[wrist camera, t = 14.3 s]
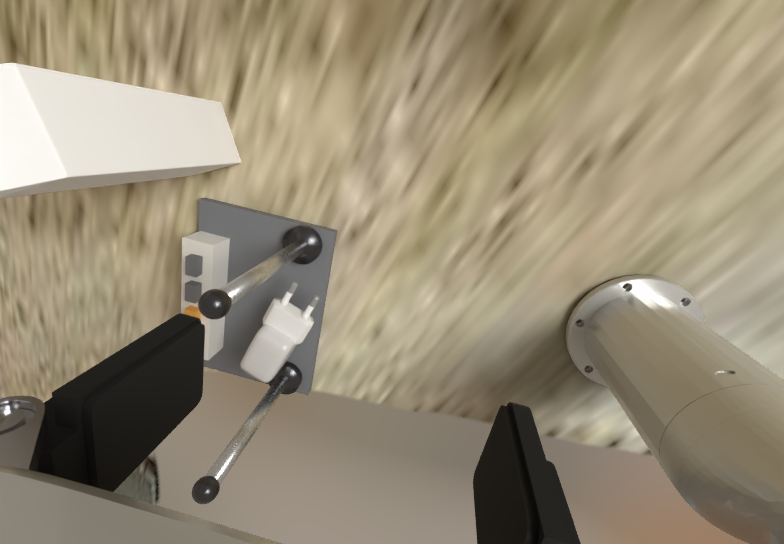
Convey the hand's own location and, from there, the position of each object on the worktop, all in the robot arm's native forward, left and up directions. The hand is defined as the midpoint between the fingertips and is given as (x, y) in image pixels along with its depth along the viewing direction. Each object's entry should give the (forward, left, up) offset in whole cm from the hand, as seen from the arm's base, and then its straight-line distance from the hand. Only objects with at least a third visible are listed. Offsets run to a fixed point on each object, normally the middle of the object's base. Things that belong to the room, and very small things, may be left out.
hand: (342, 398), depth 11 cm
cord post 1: (+11, +5, -27) cm, 30 cm away
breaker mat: (+16, +14, -28) cm, 35 cm away
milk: (+23, -3, -28) cm, 37 cm away
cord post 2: (+11, +22, -27) cm, 37 cm away
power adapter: (+11, +14, -28) cm, 33 cm away
